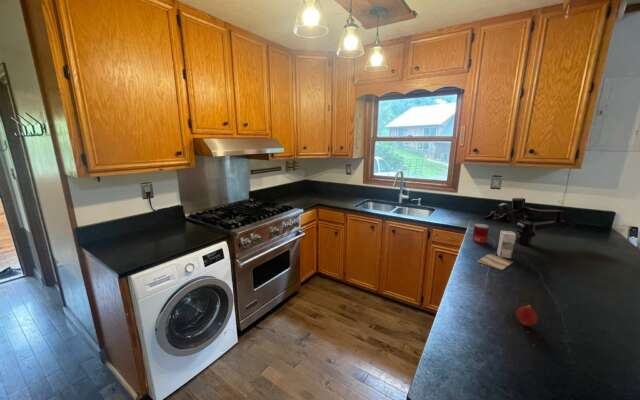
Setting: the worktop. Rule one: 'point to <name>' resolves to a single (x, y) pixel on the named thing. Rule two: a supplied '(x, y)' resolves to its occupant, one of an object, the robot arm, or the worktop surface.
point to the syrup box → (506, 244)
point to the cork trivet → (495, 261)
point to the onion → (526, 315)
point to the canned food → (480, 233)
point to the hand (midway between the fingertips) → (487, 219)
